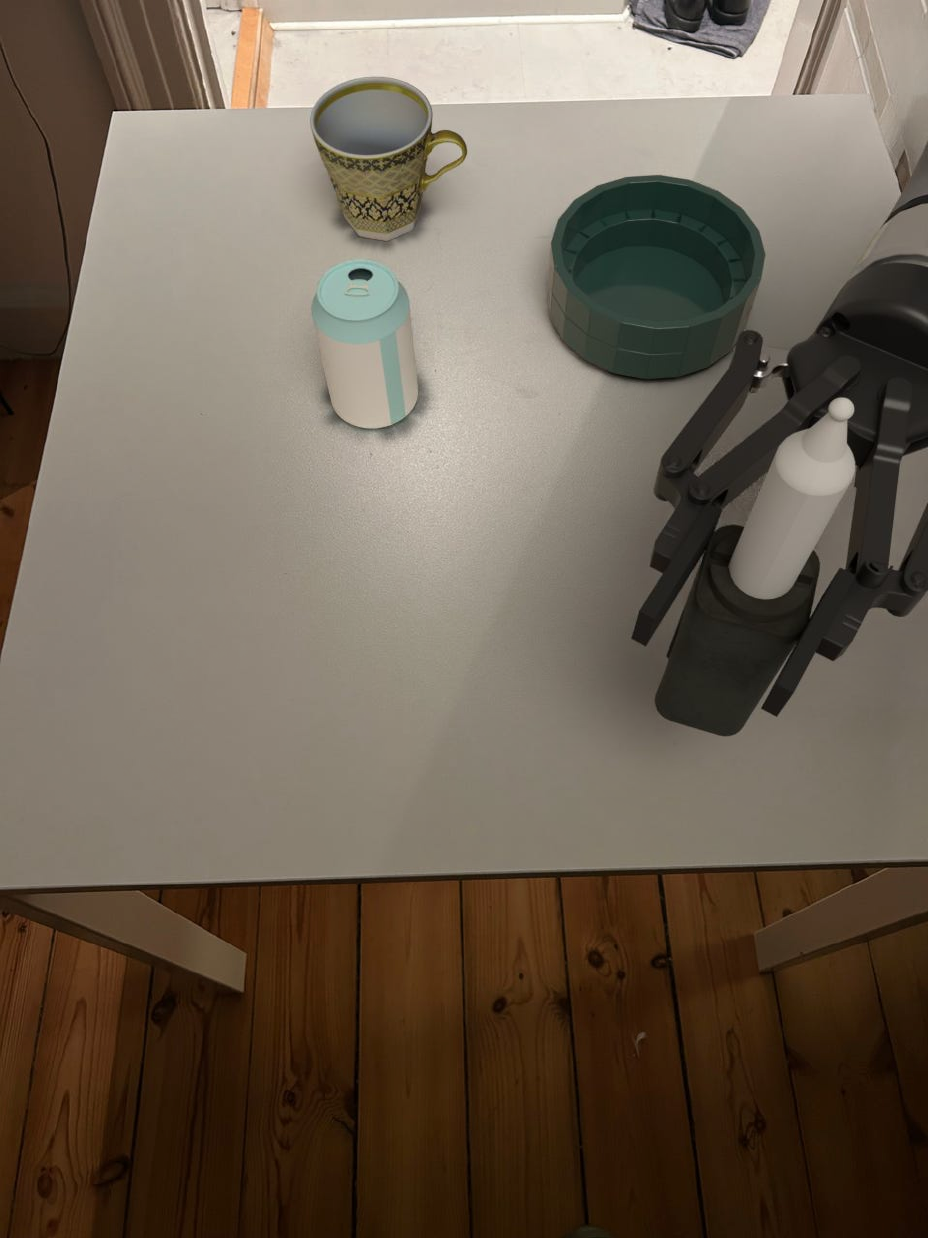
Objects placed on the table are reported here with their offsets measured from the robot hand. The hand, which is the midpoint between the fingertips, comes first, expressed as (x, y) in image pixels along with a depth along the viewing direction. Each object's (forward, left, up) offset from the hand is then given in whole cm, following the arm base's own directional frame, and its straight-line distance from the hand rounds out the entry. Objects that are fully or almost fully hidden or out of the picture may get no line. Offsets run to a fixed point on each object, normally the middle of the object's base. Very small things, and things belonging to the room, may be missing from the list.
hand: (708, 663), depth 43 cm
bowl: (+20, -39, -24) cm, 50 cm away
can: (+34, -19, -24) cm, 46 cm away
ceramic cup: (+44, -37, -24) cm, 63 cm away
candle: (0, -5, -13) cm, 14 cm away
